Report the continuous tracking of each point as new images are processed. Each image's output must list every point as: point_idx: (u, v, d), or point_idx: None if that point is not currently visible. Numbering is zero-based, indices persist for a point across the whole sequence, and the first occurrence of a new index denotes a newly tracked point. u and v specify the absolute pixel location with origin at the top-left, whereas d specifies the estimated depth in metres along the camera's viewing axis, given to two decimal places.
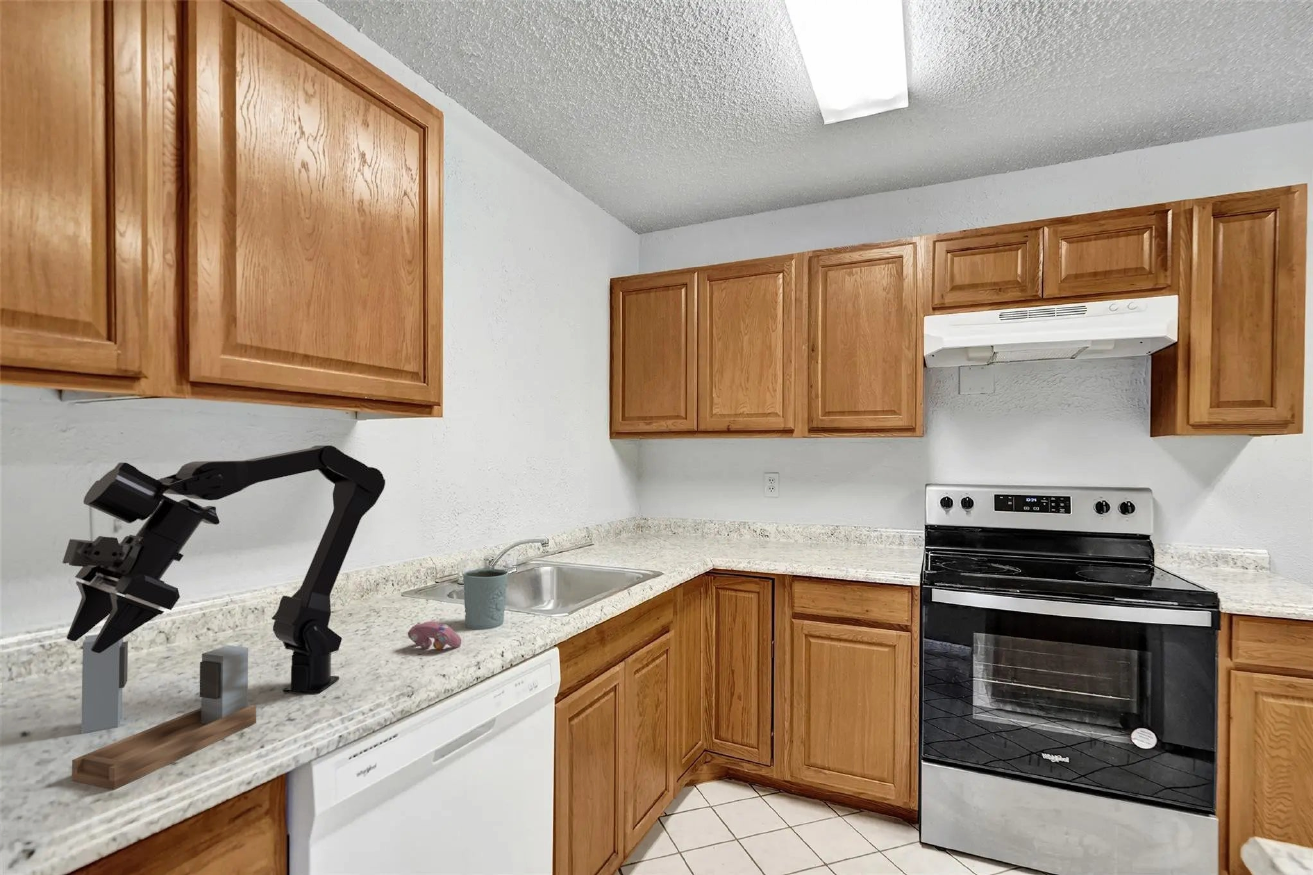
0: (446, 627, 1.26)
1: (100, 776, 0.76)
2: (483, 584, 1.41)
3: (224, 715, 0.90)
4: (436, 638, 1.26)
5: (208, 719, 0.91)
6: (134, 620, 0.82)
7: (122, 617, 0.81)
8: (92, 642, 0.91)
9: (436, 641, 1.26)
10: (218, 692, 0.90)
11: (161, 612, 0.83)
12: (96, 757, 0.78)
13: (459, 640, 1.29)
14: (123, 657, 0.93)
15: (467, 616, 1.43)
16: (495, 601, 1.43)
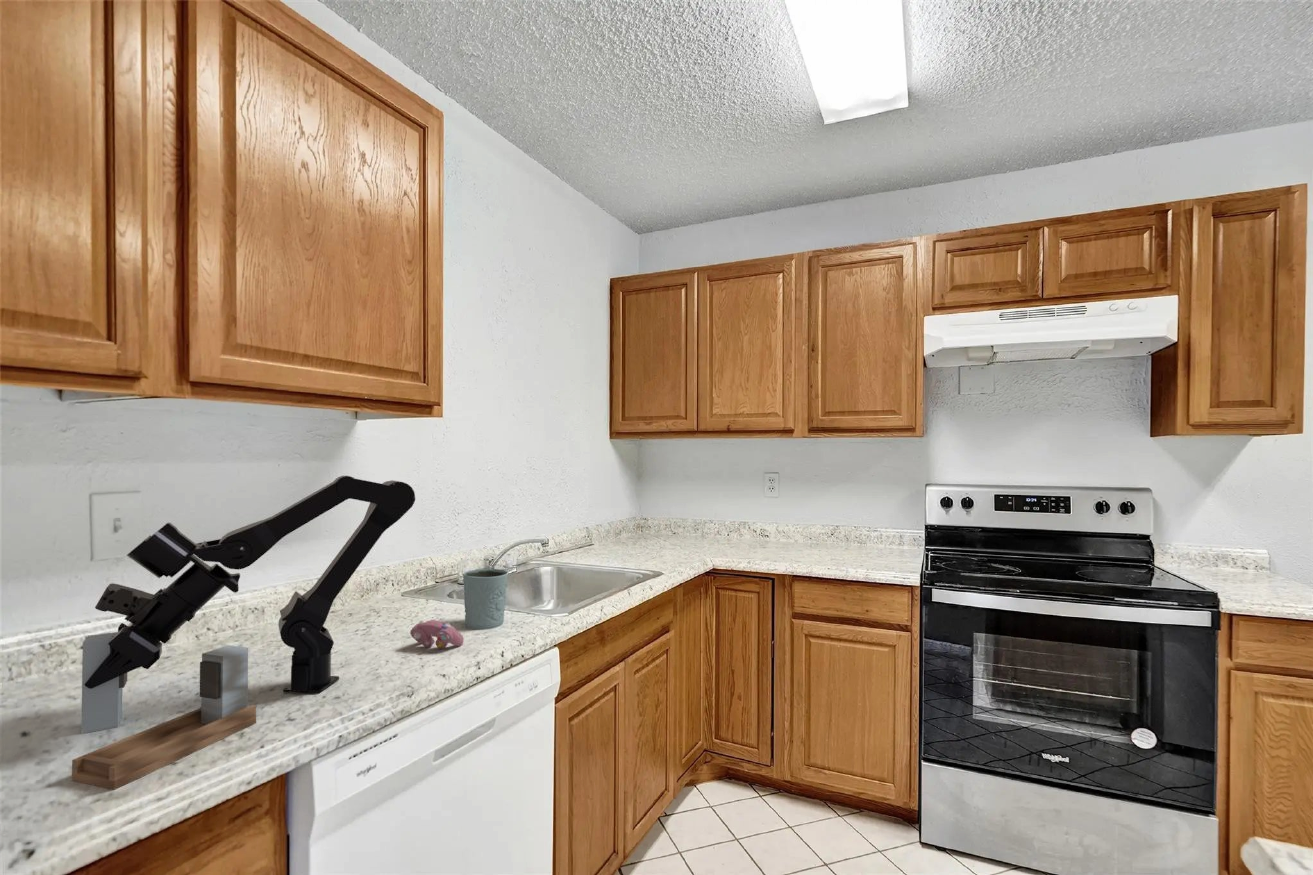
0: (448, 626, 1.27)
1: (100, 776, 0.76)
2: (483, 584, 1.41)
3: (224, 715, 0.90)
4: (438, 637, 1.27)
5: (208, 719, 0.91)
6: (124, 665, 0.91)
7: (115, 660, 0.91)
8: (92, 642, 0.91)
9: (438, 640, 1.27)
10: (218, 692, 0.90)
11: None
12: (96, 757, 0.78)
13: (461, 639, 1.30)
14: None
15: (467, 616, 1.43)
16: (495, 601, 1.43)
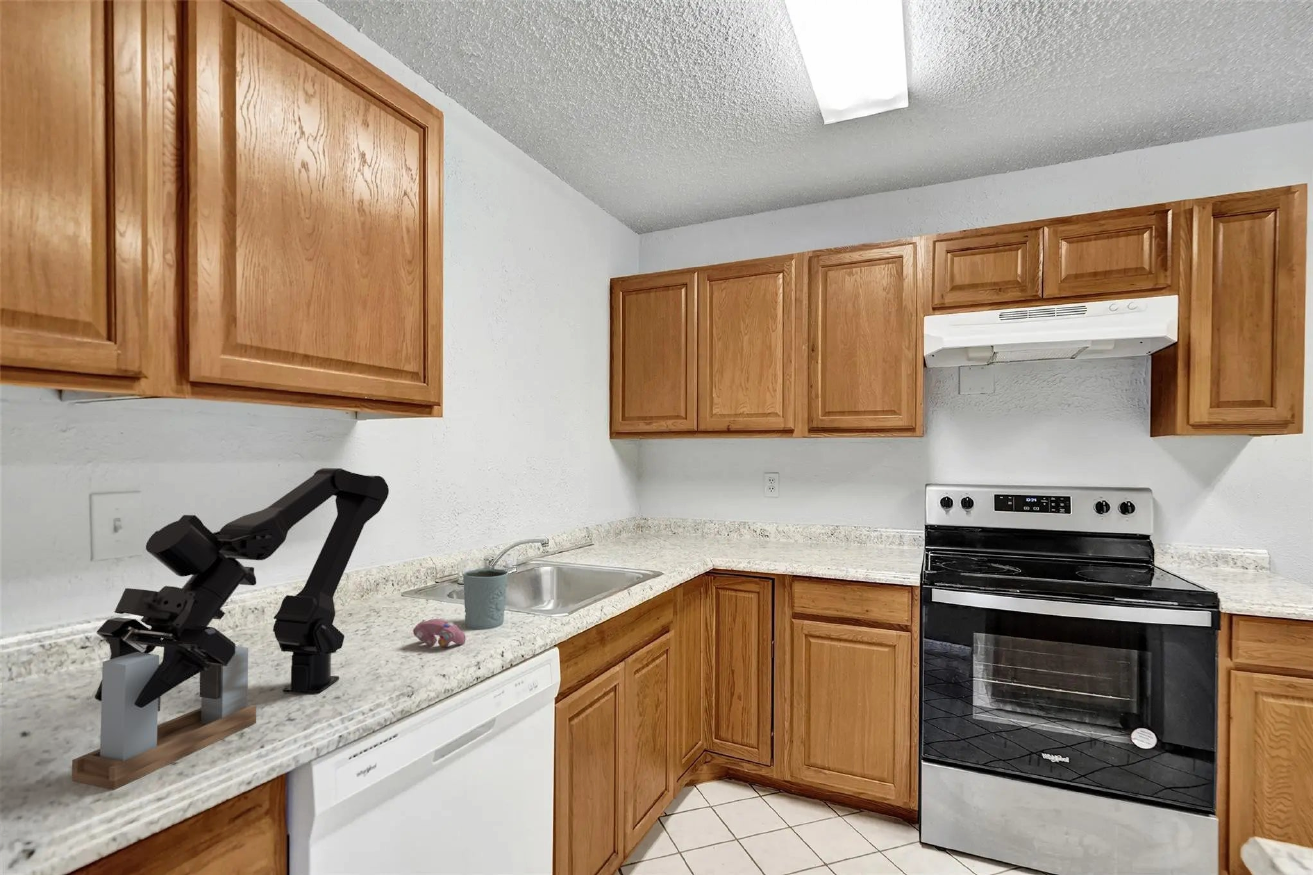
0: (451, 624, 1.28)
1: (100, 776, 0.76)
2: (483, 584, 1.41)
3: (224, 715, 0.90)
4: (441, 635, 1.28)
5: (208, 719, 0.91)
6: (180, 674, 0.81)
7: (171, 670, 0.81)
8: (134, 663, 0.79)
9: (441, 638, 1.28)
10: (218, 692, 0.90)
11: (209, 667, 0.83)
12: (96, 757, 0.78)
13: (464, 637, 1.30)
14: None
15: (467, 616, 1.43)
16: (495, 601, 1.43)
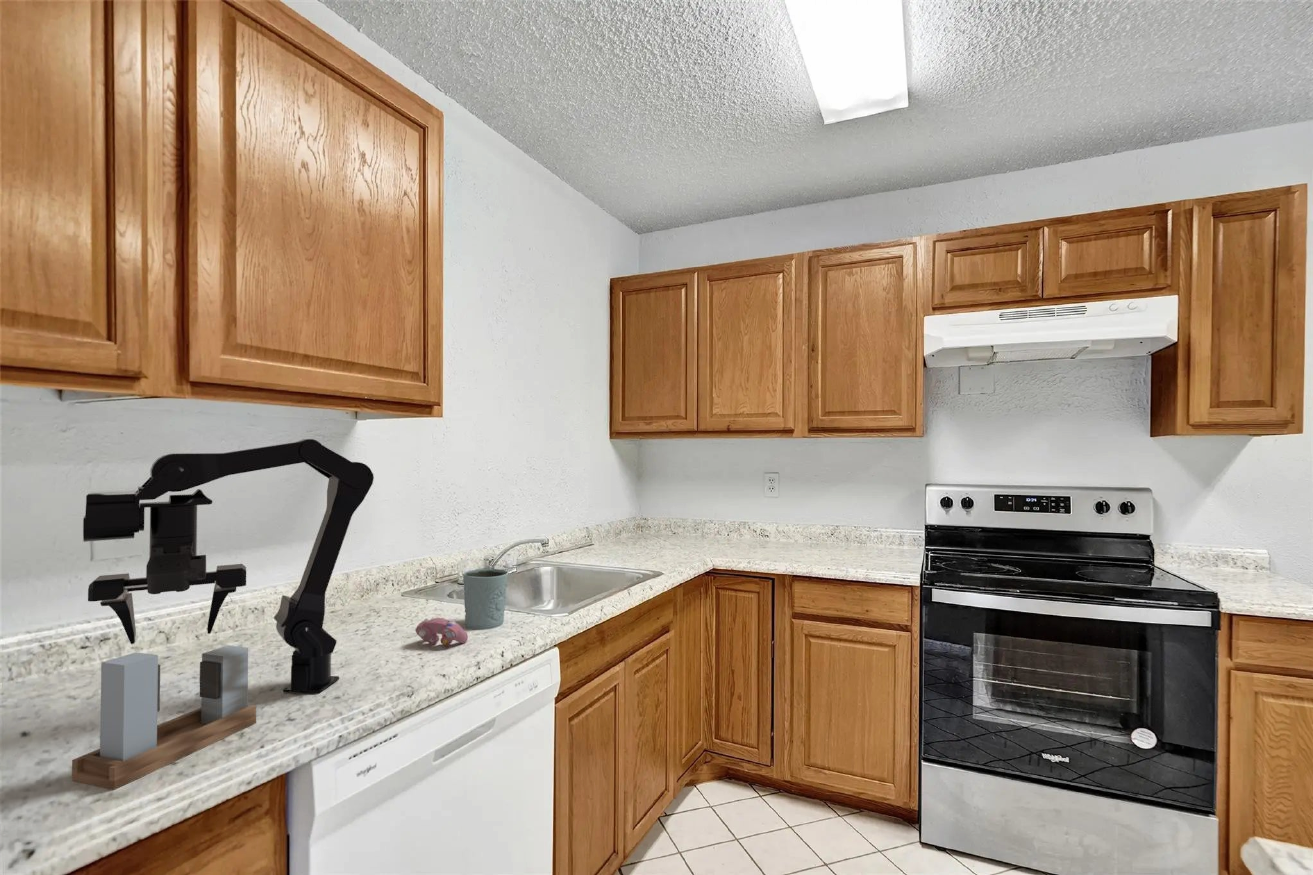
0: (453, 623, 1.29)
1: (100, 776, 0.76)
2: (483, 584, 1.41)
3: (224, 715, 0.90)
4: (443, 634, 1.29)
5: (208, 719, 0.91)
6: None
7: None
8: (133, 663, 0.79)
9: (443, 637, 1.29)
10: (218, 692, 0.90)
11: None
12: (96, 757, 0.78)
13: (466, 636, 1.31)
14: (159, 677, 0.82)
15: (467, 616, 1.43)
16: (495, 601, 1.43)
